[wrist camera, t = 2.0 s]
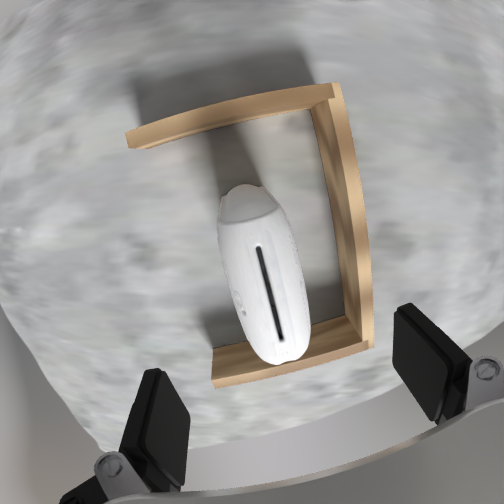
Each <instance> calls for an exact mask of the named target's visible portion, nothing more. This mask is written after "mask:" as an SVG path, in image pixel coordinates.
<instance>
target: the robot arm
mask: <svg viewBox="0 0 504 504" xmlns="http://www.w3.org/2000/svg"><path fill="white" fill-rule="evenodd" d="M392 362H393V366H394V368H395V370H396V371H397V373H398V374H399V376H400V377H401V378H402V380H403V381H404V383H405V384H406V386H407V387H408V389H409V390H410V392H411V393H412V394H413V396H414V397H415V399H416V400H417V402H418V403H419V405H420V406H421V408H422V409H423V411H424V412H425V414H426V415H427V417H428V418H429V420H430V421H435V423H436V424H437V426H436V427H434V428H432V429H430V430H428V431H426V432H424V433H422V434H420V435H417V436H415V437H413V438H411V439H409V440H407V441H404V442H402V443H400V444H398V445H395V446H393V447H390V448H388V449H385V450H383V451H381V452H378V453H375V454H373V455H370V456H368V457H364V458H362V459H359V460H356V461H353V462H350V463H347V464H344V465H341V466H337V467H334V468H331V469H327V470H324V471H320V472H316V473H312V474H309V475H305V476H300V477H296V478H291V479H286V480H282V481H277V482H271V483H265V484H259V485H253V486H246V487H238V488H230V489H220V490H207V491H190V492H180V489H181V486H183V485H184V483H185V473H186V460H187V450H188V440H189V430H190V415H189V412H188V410H187V409H186V407H185V405H184V404H183V402H182V400H181V399H180V397H179V395H178V393H177V392H176V390H175V388H174V386H173V385H172V383H171V381H170V379H169V377H168V375H167V374H166V372H165V371H161V369H159V368H155V369H148V370H145V372H144V375H143V377H142V380H141V383H140V387H139V390H138V393H137V396H136V399H135V402H134V403H133V405H132V408H131V411H130V414H129V417H128V421H127V424H126V427H125V430H124V434H123V437H122V441H121V444H120V447H119V451H118V452H115V451H112V452H107V453H105V454H103V455H102V456H100V457H99V458H98V460H97V461H96V463H95V465H94V472H95V476H93V477H92V478H90V479H88V480H87V481H85V482H84V483H82V484H81V485H79V486H78V487H76V488H74V489H73V490H71V491H69V492H68V493H66V494H65V495H64V496H63V497H62V498H61V500H60V503H59V504H504V368H503V365H502V363H501V362H500V361H499V360H498V359H497V358H494V357H491V356H481V357H478V358H476V359H475V360H474V361H473V360H471V358H469V357H468V355H467V354H466V353H465V352H464V351H463V350H462V349H461V348H460V347H459V346H458V345H457V344H456V343H455V342H453V341H452V340H451V339H450V338H449V337H448V336H447V335H446V334H445V333H444V332H443V331H442V330H441V329H440V328H439V327H437V326H436V325H435V324H434V323H433V322H432V321H431V320H430V319H429V318H428V317H426V316H425V315H424V314H423V313H422V312H421V311H420V310H419V309H418V308H417V307H416V306H414V305H413V304H412V303H407V304H405V305H402V306H399V307H398V308H397V311H396V312H395V313H394V335H393V357H392Z"/></svg>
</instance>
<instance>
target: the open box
mask: <svg viewBox="0 0 504 504" xmlns="http://www.w3.org/2000/svg"><path fill="white" fill-rule="evenodd" d="M305 109H310V111H311V115H312V119H313V123H314V128H315V132H316V136H317V140H318V145H319V149H320V154H321V159H322V164H323V168H324V173H325V178H326V184H327V189H328V194H329V200H330V205H331V211H332V217H333V223H334V230H335V236H336V243H337V250H338V257H339V264H340V272H341V280H342V289H343V298H344V307H345V315H344V316H341V317H337V318H334V319H331V320H327V321H324V322H320V323H317V324H313V325H311V332H310V340H309V344H308V348H307V350H306V351H305V352H304V354H303V355H302V356H301V357H300V358H298V359H296V360H291V361H286V362H283V363H281V364H279V365H274V364H270V363H268V362H266V361H264V360H262V359H261V358H260V357H259V356H258V355H257V353H256V352H255V351H254V349H253V348H252V346H251V344H250V342H249V341H246V342H242V343H237V344H232V345H228V346H223V347H218V348H213V361H212V377H211V381H212V383H213V385H214V387H215V389H216V388H221V387H227V386H232V385H238V384H243V383H248V382H252V381H257V380H262V379H266V378H270V377H275V376H279V375H283V374H287V373H291V372H295V371H299V370H302V369H306V368H310V367H313V366H317V365H320V364H324V363H327V362H330V361H334V360H337V359H340V358H343V357H346V356H350V355H353V354H356V353H359V352H362V351H364V350H367V349H370V348H373V347H374V311H373V289H372V274H371V261H370V250H369V240H368V231H367V222H366V215H365V207H364V200H363V193H362V187H361V181H360V175H359V169H358V164H357V158H356V153H355V148H354V143H353V138H352V133H351V129H350V124H349V120H348V116H347V112H346V107H345V103H344V99H343V96H342V92H341V88H340V84H339V82H335V83H325V84H316V85H308V86H301V87H294V88H288V89H282V90H276V91H270V92H265V93H260V94H255V95H250V96H245V97H241V98H236V99H232V100H228V101H223V102H219V103H216V104H212V105H208V106H204V107H201V108H197V109H193V110H190V111H187V112H183V113H180V114H177V115H174V116H170V117H167V118H164V119H161V120H158V121H155V122H152V123H150V124H147V125H144V126H141V127H138V128H136V129H133V130H130V131H128V132H125V135H126V139H127V143H128V147H129V148H138V149H149V148H152V147H155V146H158V145H161V144H164V143H167V142H170V141H173V140H177V139H180V138H183V137H187V136H190V135H193V134H197V133H200V132H204V131H208V130H211V129H215V128H219V127H223V126H227V125H231V124H235V123H239V122H244V121H248V120H252V119H257V118H262V117H267V116H272V115H277V114H282V113H287V112H293V111H299V110H305Z"/></svg>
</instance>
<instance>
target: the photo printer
mask: <svg viewBox="0 0 504 504" xmlns="http://www.w3.org/2000/svg"><path fill="white" fill-rule="evenodd" d="M217 232H218V245H219V249H220V254H221V258H222V263H223V267H224V271H225V275H226V278H227V282H228V286H229V289H230V292H231V296H232V299H233V302H234V305H235V308H236V311H237V314H238V317H239V320H240V322H241V325H242V328H243V330H244V332H245V335H246V337H247V339H248V341H249V342H250V344H251V346H252V348H253V349H254V351H255V352H256V353H257V355H258V356H259V357H260V358H261V359H262V360H264V361H266V362H268V363H270V364H274V365H279V364H281V363H283V362H286V361H291V360H296V359H298V358H300V357H301V356H302V355H303V354H304V352H305V351H306V350H307V348H308V344H309V340H310V332H311V325H310V314H309V306H308V300H307V294H306V288H305V283H304V278H303V273H302V268H301V264H300V260H299V255H298V251H297V247H296V244H295V240H294V236H293V233H292V230H291V226H290V224H289V221H288V219H287V217H286V214H285V212H284V210H283V208H282V207H281V205H280V204H279V203H278V202H277V201H276V200H275V198H274V197H273V196H272V195H271V194H270V193H269V192H268V191H267V190H266V189H265V188H264V187H263V186H260V187H256V186H254V185H250V184H243V185H239V186H236V187H234V188H233V189H231V190H230V191H229V192H228V194H227V195H226V196H222V198H221V204H220V210H219V215H218V220H217Z"/></svg>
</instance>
